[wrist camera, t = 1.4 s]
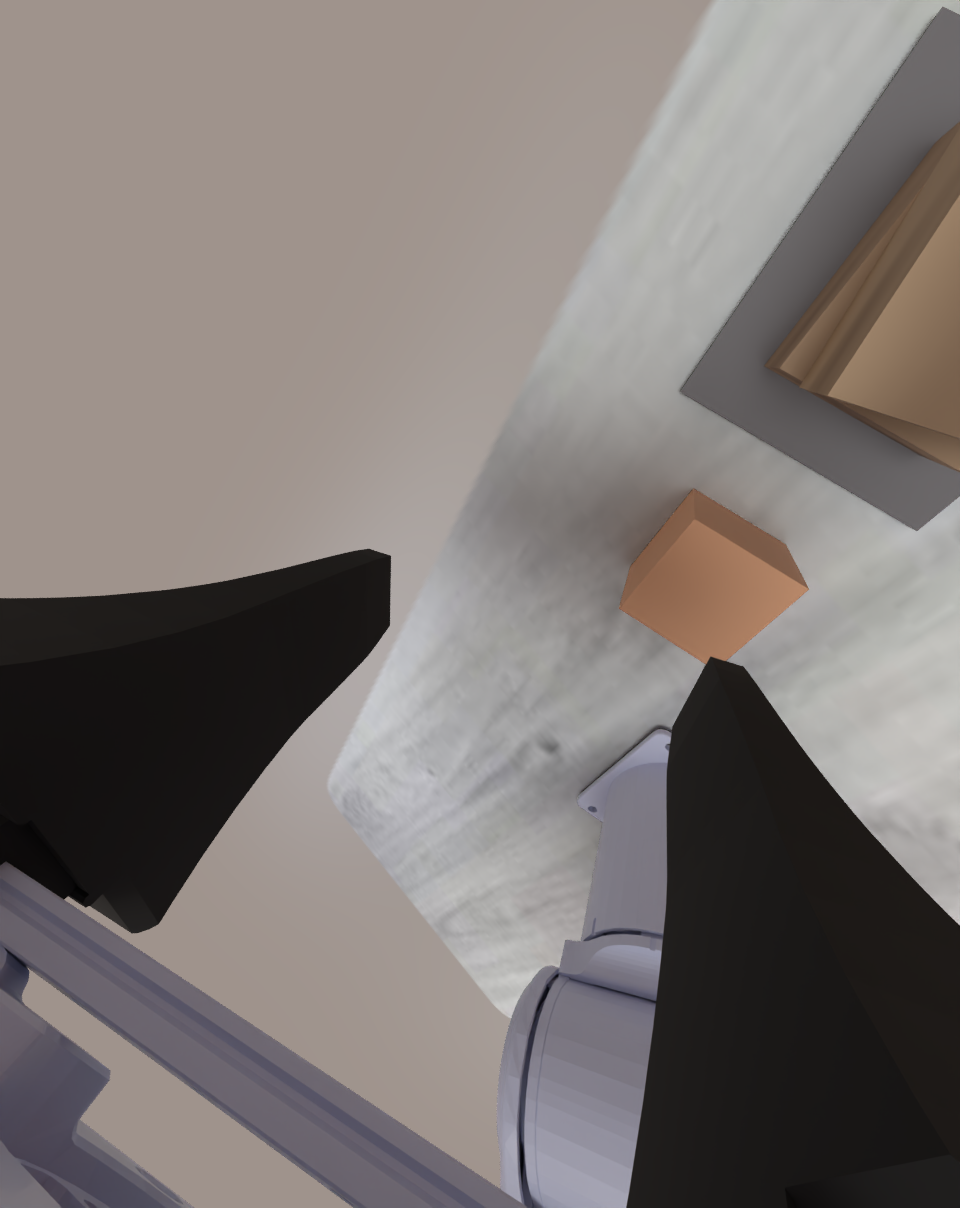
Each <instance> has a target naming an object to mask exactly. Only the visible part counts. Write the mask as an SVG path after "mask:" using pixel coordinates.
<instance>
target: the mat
mask: <svg viewBox="0 0 960 1208" xmlns="http://www.w3.org/2000/svg"><path fill="white" fill-rule="evenodd" d="M958 122H960V15H959V14H957V13H955V12H953V11H951V10H948V9H946V8H944V7H942V8H941V10H940V11H939V12H938V14H937V15H936V16H935V18H934V19H933V21H932V22H931V24H930V25H929V27H928V28H927V30H926V31H925V33H924V34H923V36H922V37H921V38H920V40H919V41H918V43H917V44H916V46H915V47H914V49H913V50H912V52H911V53H910V55H909V56H908V58H907V59H906V60H905V62H904V63H903V65H902V66H901V68H900V69H899V71H898V72H897V74H896V75H895V77H894V78H893V80H892V81H891V82H890V84H889V85H888V87H887V88H886V90H885V91H884V93H883V94H882V96H881V97H880V99H879V100H878V102H877V103H876V104H875V106H874V107H873V109H872V110H871V112H870V113H869V115H868V116H867V118H866V119H865V121H864V122H863V124H862V125H861V126H860V128H859V129H858V131H857V132H856V134H855V135H854V137H853V138H852V140H851V141H850V143H849V144H848V146H847V147H846V148H845V150H844V151H843V153H842V154H841V156H840V157H839V159H838V160H837V162H836V163H835V165H834V166H833V168H832V169H831V171H830V172H829V173H828V175H827V176H826V178H825V179H824V181H823V182H822V184H821V185H820V187H819V188H818V190H817V191H816V193H815V194H814V195H813V197H812V198H811V200H810V201H809V203H808V204H807V206H806V207H805V209H804V210H803V212H802V213H801V215H800V216H799V217H798V219H797V220H796V222H795V223H794V225H793V226H792V228H791V229H790V231H789V232H788V234H787V235H786V237H785V238H784V239H783V241H782V242H781V244H780V245H779V247H778V248H777V250H776V251H775V253H774V254H773V256H772V257H771V259H770V260H769V261H768V263H767V264H766V266H765V267H764V269H763V270H762V272H761V273H760V275H759V276H758V278H757V279H756V281H755V282H754V283H753V285H752V286H751V288H750V289H749V291H748V292H747V294H746V295H745V297H744V298H743V300H742V301H741V303H740V304H739V306H738V307H737V308H736V310H735V311H734V313H733V314H732V316H731V317H730V319H729V320H728V322H727V323H726V325H725V326H724V328H723V329H722V330H721V332H720V333H719V335H718V336H717V338H716V339H715V341H714V342H713V344H712V345H711V347H710V348H709V350H708V351H707V352H706V354H705V355H704V357H703V358H702V360H701V361H700V363H699V364H698V366H697V367H696V369H695V370H694V372H693V373H692V374H691V376H690V377H689V379H688V380H687V382H686V383H685V385H684V386H683V388H682V389H681V391H680V392H681V393H683V394H685V395H686V396H688V397H690V398H692V399H693V400H695V401H697V402H698V403H700V404H702V405H703V406H705V407H707V408H709V409H710V410H712V411H714V412H715V413H717V414H719V415H720V416H722V417H724V418H726V419H727V420H729V421H731V422H732V423H734V424H736V425H737V426H739V427H741V428H743V429H744V430H746V431H748V432H749V433H751V434H753V435H754V436H756V437H758V438H760V439H761V440H763V441H765V442H766V443H768V444H770V445H771V446H773V447H775V448H777V449H778V450H780V451H782V452H783V453H785V454H787V455H788V456H790V457H792V458H794V459H795V460H797V461H799V462H800V463H802V464H804V465H805V466H807V467H809V468H811V469H812V470H814V471H816V472H817V473H819V474H821V475H822V476H824V477H826V478H828V479H829V480H831V481H833V482H834V483H836V484H838V485H839V486H841V487H843V488H845V489H846V490H848V491H850V492H851V493H853V494H855V495H856V496H858V497H860V498H862V499H863V500H865V501H867V502H868V503H870V504H872V505H873V506H875V507H877V508H879V509H880V510H882V511H884V512H885V513H887V514H889V515H890V516H892V517H894V518H896V519H897V520H899V521H901V522H902V523H904V524H906V525H907V526H909V527H911V528H913V529H914V530H916V531H918V530H919V529H920V528H921V527H923V526H924V525H925V524H926V523H927V522H929V521H930V520H931V519H932V518H934V517H935V516H936V515H937V514H938V513H940V512H941V511H942V510H943V509H945V508H946V507H947V506H948V505H950V504H951V503H952V502H953V501H954V500H956V499H957V498H958V497H959V496H960V472H957V471H955V470H953V469H950V468H948V467H946V466H943V465H941V464H939V463H936V462H934V461H932V460H929V459H927V458H925V457H922V456H920V455H918V454H917V453H915V452H913V451H911V450H910V449H908V448H906V447H904V446H903V445H901V444H899V443H897V442H896V441H894V440H892V439H890V438H889V437H887V436H885V435H883V434H882V433H880V432H878V431H877V430H875V429H873V428H871V427H870V426H868V425H866V424H864V423H863V422H861V421H859V420H857V419H856V418H854V417H852V416H850V415H849V414H847V413H845V412H843V411H842V410H840V409H838V408H836V407H835V406H833V405H831V404H829V403H828V402H826V401H824V400H822V399H821V398H819V397H817V396H815V395H814V394H812V393H810V392H808V391H807V390H805V389H802V388H799V387H800V386H798V385H796V384H794V383H793V382H791V381H789V380H787V379H786V378H784V377H782V376H780V375H779V374H777V373H775V372H773V371H772V370H770V369H768V368H766V367H765V366H764V365H765V364H766V363H767V362H768V360H769V359H770V358H771V356H772V355H773V354H774V352H775V351H776V350H777V348H778V347H779V346H780V345H781V343H782V342H783V341H784V339H785V338H786V337H787V335H788V334H789V333H790V332H791V330H792V329H793V328H794V326H795V325H796V324H797V322H798V321H799V320H800V319H801V317H802V316H803V315H804V313H805V312H806V311H807V309H808V308H809V307H810V305H811V304H812V303H813V302H814V300H815V299H816V298H817V296H818V295H819V294H820V292H821V291H822V290H823V289H824V287H825V286H826V285H827V283H828V282H829V281H830V279H831V278H832V277H833V275H834V274H835V273H836V272H837V270H838V269H839V268H840V266H841V265H842V264H843V262H844V261H845V260H846V259H847V257H848V256H849V255H850V253H851V252H852V251H853V249H854V248H855V247H856V246H857V244H858V243H859V242H860V240H861V239H862V238H863V236H864V235H865V234H866V232H867V231H868V230H869V229H870V227H871V226H872V225H873V223H874V222H875V221H876V219H877V218H878V217H879V216H880V214H881V213H882V212H883V210H884V209H885V208H886V206H887V205H888V204H889V203H890V201H891V200H892V199H893V197H894V196H895V195H896V193H897V192H898V191H899V189H900V188H901V187H902V186H903V184H904V183H905V182H906V180H907V179H908V178H909V176H910V175H911V174H912V173H913V171H914V170H915V169H916V167H917V166H918V165H919V163H920V162H921V161H922V160H923V158H924V157H925V156H926V154H927V153H928V152H929V150H930V149H931V148H932V146H933V145H934V144H935V143H936V141H938V140H939V139H940V138H941V137H942V136H943V135H945V134H946V133H947V132H948V131H949V130H950V129H952V128H953V127H954V126H955V125H956V124H957V123H958Z"/></svg>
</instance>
